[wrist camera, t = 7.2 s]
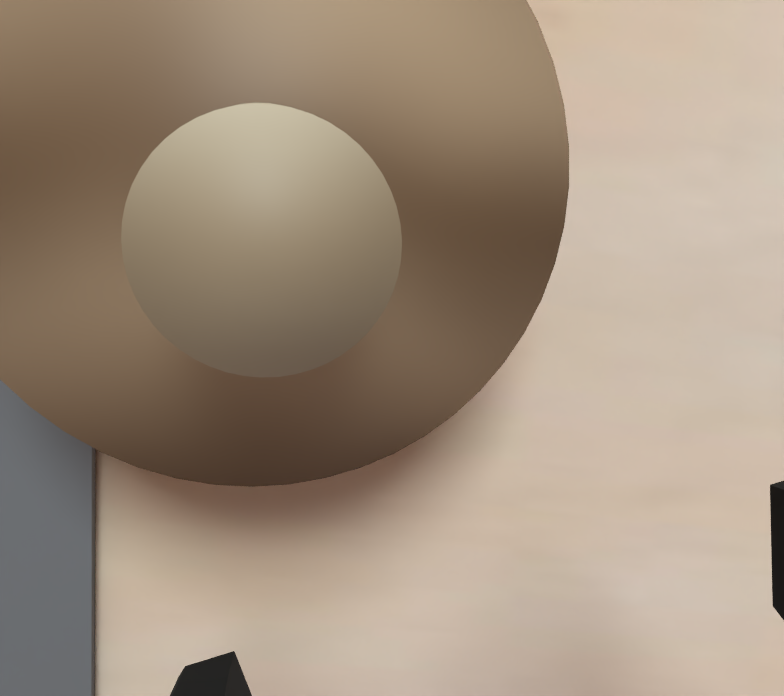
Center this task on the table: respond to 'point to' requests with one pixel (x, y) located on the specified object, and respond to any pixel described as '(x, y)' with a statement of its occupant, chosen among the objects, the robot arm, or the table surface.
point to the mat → (45, 556)
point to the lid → (270, 222)
